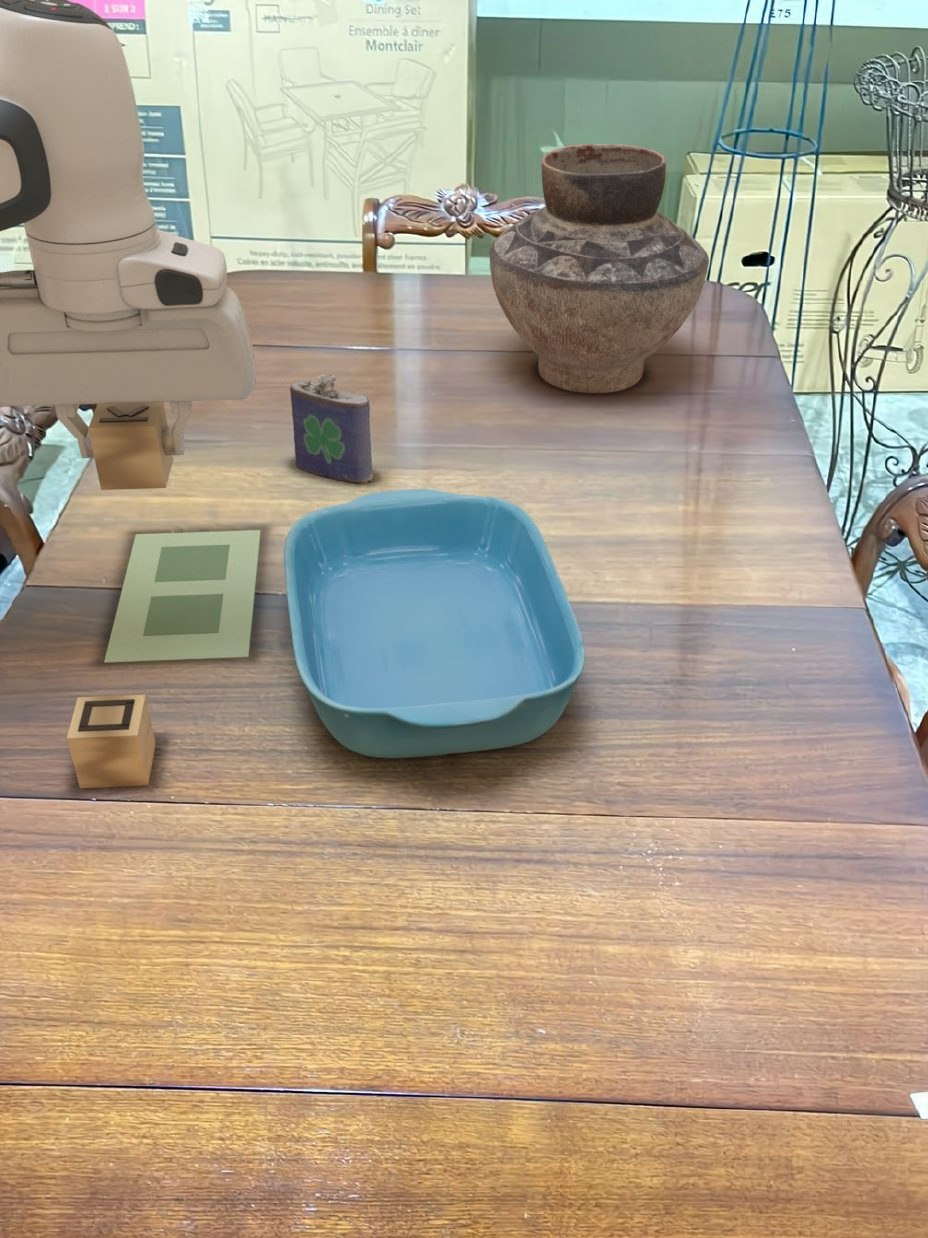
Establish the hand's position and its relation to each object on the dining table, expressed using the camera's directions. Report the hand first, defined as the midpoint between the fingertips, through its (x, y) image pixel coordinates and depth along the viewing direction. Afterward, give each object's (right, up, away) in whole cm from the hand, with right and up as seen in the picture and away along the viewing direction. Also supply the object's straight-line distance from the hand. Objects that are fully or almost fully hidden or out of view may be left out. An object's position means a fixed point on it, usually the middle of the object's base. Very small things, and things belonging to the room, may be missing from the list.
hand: (134, 453), depth 98 cm
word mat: (+1, -8, +16) cm, 18 cm away
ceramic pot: (+41, +26, +54) cm, 73 cm away
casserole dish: (+23, -15, +8) cm, 28 cm away
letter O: (0, -25, -3) cm, 25 cm away
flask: (+12, +8, +34) cm, 37 cm away
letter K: (0, -1, +1) cm, 2 cm away
